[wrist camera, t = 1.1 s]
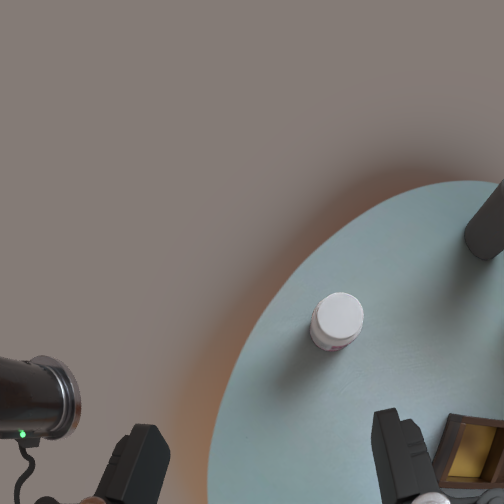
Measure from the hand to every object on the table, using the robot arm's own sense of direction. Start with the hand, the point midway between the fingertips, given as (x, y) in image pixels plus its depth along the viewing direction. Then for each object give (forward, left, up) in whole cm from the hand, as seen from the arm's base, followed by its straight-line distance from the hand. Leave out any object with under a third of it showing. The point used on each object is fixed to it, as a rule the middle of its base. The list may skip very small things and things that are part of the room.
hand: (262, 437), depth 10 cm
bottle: (+24, -19, -23) cm, 39 cm away
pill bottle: (+8, -2, -23) cm, 25 cm away
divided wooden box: (-2, -26, -23) cm, 35 cm away
